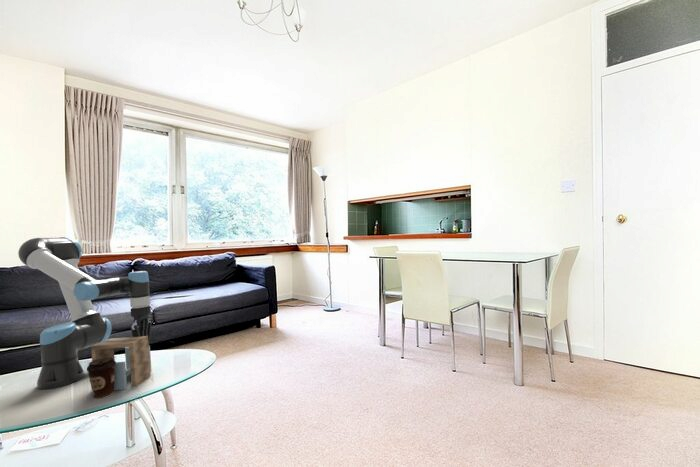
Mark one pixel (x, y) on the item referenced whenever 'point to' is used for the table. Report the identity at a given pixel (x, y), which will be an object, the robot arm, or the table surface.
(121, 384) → the plunger
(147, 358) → the tunnel
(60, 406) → the table surface
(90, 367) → the coffee cup
